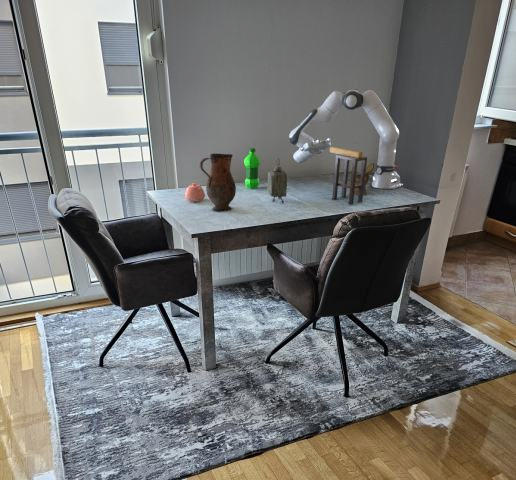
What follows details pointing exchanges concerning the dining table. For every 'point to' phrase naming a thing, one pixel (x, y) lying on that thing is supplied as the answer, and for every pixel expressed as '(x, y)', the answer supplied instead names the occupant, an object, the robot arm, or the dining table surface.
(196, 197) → the sugar bowl
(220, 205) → the pitcher
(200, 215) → the dining table surface
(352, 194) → the stand
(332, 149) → the bar
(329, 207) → the dining table surface
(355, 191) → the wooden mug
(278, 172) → the tabletop clock
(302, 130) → the robot arm
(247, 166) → the plastic bottle
